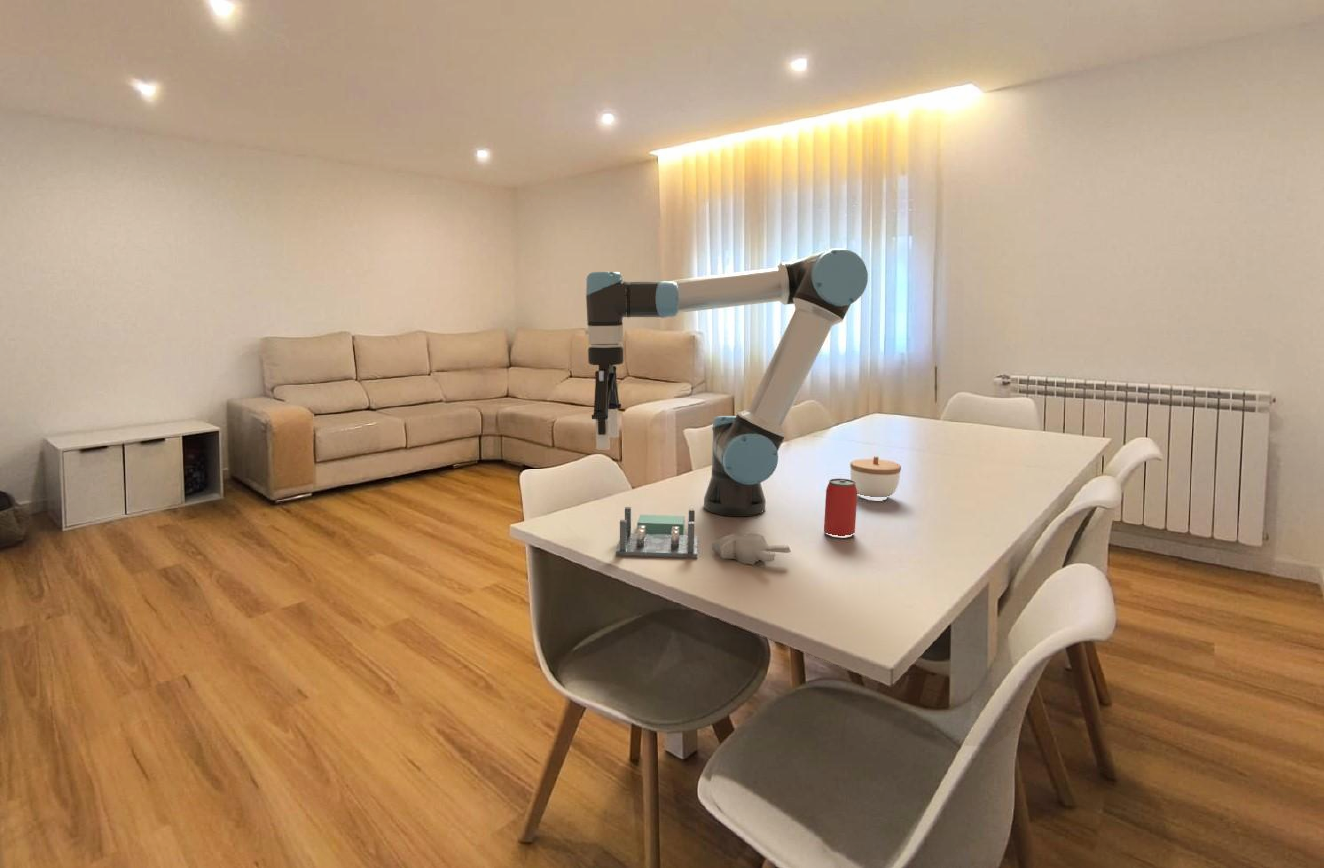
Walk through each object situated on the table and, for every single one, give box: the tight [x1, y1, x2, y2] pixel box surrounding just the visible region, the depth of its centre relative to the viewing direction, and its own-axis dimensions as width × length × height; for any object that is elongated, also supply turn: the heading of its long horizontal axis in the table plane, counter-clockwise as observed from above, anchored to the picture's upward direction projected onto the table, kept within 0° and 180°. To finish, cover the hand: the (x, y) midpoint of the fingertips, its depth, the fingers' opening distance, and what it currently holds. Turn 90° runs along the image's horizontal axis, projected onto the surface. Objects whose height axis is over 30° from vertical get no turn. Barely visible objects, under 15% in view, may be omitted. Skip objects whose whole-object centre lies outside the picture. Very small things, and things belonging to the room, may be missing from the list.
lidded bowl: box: [849, 455, 902, 497], centre depth 177 cm, size 13×13×11 cm
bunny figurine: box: [711, 533, 792, 566], centre depth 133 cm, size 10×5×15 cm
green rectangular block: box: [636, 514, 686, 535], centre depth 150 cm, size 10×6×3 cm, turn 86°
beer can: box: [823, 477, 858, 536], centre depth 148 cm, size 7×7×12 cm
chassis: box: [615, 506, 698, 560], centre depth 138 cm, size 16×11×7 cm
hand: (607, 443), depth 149 cm, fingers open, 13 cm apart
